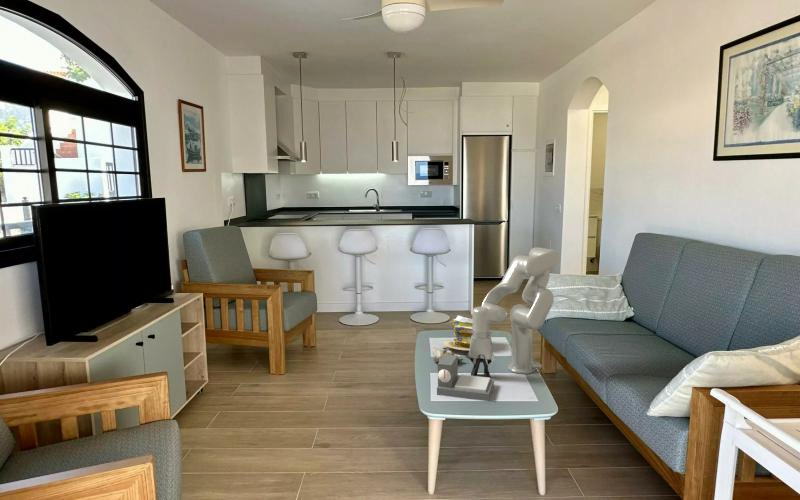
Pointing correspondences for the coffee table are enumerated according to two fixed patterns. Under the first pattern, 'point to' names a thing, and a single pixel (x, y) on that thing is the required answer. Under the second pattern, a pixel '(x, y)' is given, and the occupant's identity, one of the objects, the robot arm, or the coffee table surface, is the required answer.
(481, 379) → the grey bracket with tile
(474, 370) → the phone stand
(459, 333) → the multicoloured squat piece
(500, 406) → the coffee table surface
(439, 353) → the ceramic sculpture
